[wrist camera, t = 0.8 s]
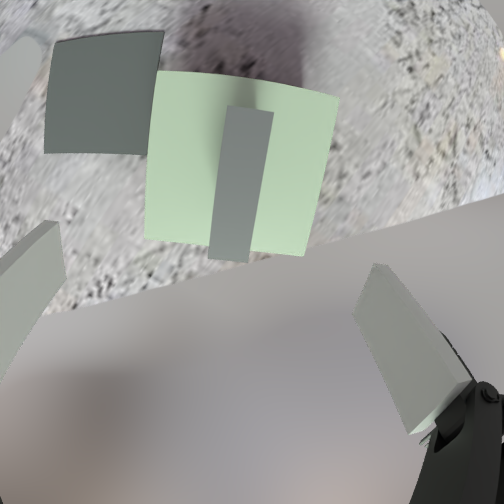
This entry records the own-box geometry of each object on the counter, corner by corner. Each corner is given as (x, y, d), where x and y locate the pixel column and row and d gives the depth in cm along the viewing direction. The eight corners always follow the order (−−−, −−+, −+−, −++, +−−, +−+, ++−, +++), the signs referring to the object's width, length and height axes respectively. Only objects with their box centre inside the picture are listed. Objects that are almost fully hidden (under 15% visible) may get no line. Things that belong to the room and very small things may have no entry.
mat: (56, 43, 27) (54, 43, 26) (164, 32, 29) (163, 31, 29) (45, 153, 35) (44, 153, 34) (147, 154, 37) (146, 155, 37)
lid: (159, 71, 22) (128, 57, 14) (336, 98, 25) (379, 96, 17) (146, 235, 30) (120, 281, 22) (301, 252, 32) (323, 301, 24)
